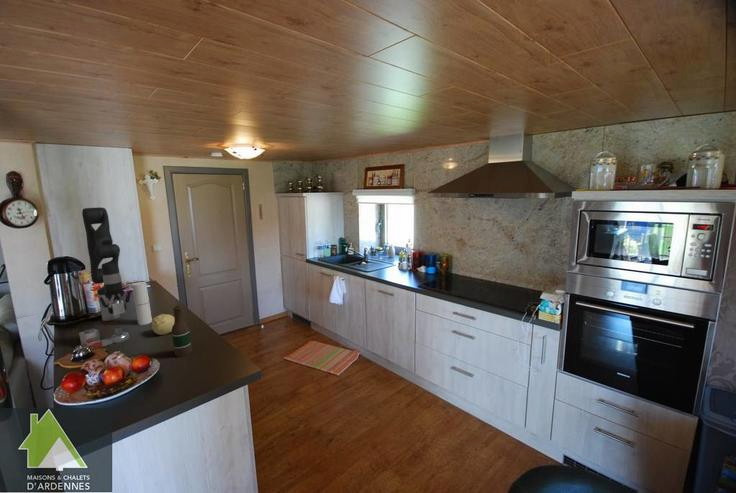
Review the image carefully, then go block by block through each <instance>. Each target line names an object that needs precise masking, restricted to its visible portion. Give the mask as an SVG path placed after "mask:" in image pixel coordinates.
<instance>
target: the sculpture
mask: <svg viewBox="0 0 736 493" xmlns="http://www.w3.org/2000/svg"><path fill="white" fill-rule="evenodd" d="M174 321H175V319H174V315H171V314H166V313H161V314H158V315H157V316H155V317H154V318H153V317H152V322H151V327H152V331H153V333H155V334H156V335H159V336H165V335H168V334H170V333H172V327H173V325H174Z"/></svg>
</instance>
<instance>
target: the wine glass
mask: <svg viewBox="0 0 736 493" xmlns="http://www.w3.org/2000/svg"><path fill="white" fill-rule="evenodd" d="M122 327H123V326H121V325H119V326H115V327H114V334H111V335H110V336H109V338H105V339H102V340H101V339H100V340H98V341H94V342H91V343H88V344H84V345H81V344H80V345H78V346H75V350H76V349H77V348H78V347H80V346H86V347H90V348H97V349H99V348H98V347H100V348H102V347H105V346H108V345H112V344H120V343H123V342H126V341H128V340H129V339H130V335H129V332H128V331H123V328H122Z"/></svg>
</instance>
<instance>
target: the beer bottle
mask: <svg viewBox="0 0 736 493" xmlns="http://www.w3.org/2000/svg"><path fill="white" fill-rule="evenodd" d="M172 310H173V314H174V315H173V317H174V319H175V321H174V325H173V327H172V332H171V336H172V342H173V343H172V345H173V350H174V355H175V357H180V358H182V357H185V356H189V355H190V354H191V353H192V351H193V350H192V348H193V347H192V341H191V335H190V334H191V332H190V328H189V326H188V324H187V322H185V321H184V317H183V313H182V306H181V305H177V306H173V308H172Z"/></svg>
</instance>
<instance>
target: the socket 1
mask: <svg viewBox="0 0 736 493" xmlns="http://www.w3.org/2000/svg"><path fill="white" fill-rule="evenodd" d="M78 334H79V339H80V346H81V345H84V344H88V343H91V342H94V341H98V340H101V336H100V332H99V329H95V328H89V329H86V330H83V331H81V332H79V333H78Z"/></svg>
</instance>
